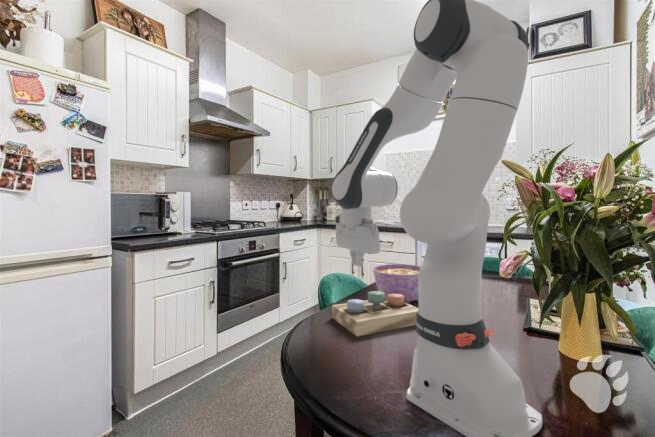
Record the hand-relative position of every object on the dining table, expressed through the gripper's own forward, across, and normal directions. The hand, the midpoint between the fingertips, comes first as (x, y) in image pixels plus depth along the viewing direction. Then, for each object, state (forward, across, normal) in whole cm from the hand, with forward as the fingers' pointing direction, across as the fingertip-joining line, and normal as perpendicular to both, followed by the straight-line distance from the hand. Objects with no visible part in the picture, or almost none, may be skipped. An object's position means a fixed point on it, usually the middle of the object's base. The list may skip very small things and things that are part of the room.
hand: (357, 265), depth 96 cm
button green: (+15, 0, -6) cm, 16 cm away
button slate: (+16, 0, +1) cm, 17 cm away
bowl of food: (+18, +14, -25) cm, 34 cm away
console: (+17, 0, -6) cm, 19 cm away
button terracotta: (+17, 0, -13) cm, 21 cm away
